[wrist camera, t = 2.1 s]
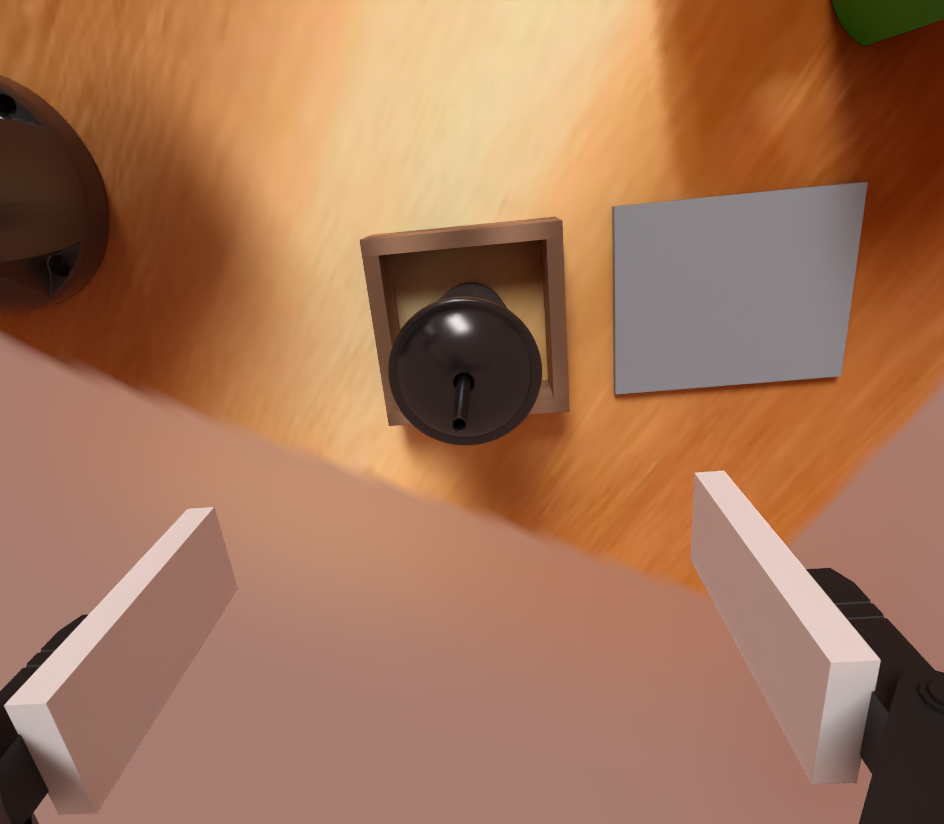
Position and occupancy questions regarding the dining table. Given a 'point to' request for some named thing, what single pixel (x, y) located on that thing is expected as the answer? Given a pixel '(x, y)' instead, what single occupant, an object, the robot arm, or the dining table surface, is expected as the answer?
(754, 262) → the slate mat
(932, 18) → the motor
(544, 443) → the dining table surface
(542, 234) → the walnut collar
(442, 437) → the drinking cup
